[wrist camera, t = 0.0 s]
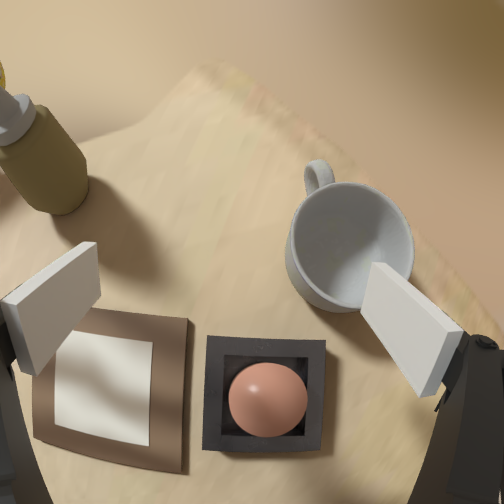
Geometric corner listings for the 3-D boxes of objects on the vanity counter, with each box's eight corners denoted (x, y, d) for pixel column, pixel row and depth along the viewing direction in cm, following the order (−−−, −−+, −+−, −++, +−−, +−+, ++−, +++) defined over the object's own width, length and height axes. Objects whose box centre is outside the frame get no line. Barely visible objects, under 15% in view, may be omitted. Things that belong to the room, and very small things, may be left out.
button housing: (311, 441, 25) (320, 449, 23) (204, 440, 25) (202, 449, 22) (315, 341, 29) (325, 339, 26) (208, 337, 28) (207, 335, 25)
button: (296, 428, 24) (305, 436, 21) (227, 427, 24) (227, 436, 21) (299, 362, 26) (309, 363, 23) (230, 360, 25) (231, 361, 23)
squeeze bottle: (34, 228, 29) (-62, 139, 12) (46, 168, 32) (-23, 68, 15) (93, 222, 30) (7, 110, 13) (102, 159, 33) (46, 39, 16)
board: (182, 470, 23) (181, 473, 23) (37, 436, 22) (33, 437, 21) (188, 319, 28) (187, 318, 27) (42, 300, 27) (38, 298, 26)
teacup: (384, 310, 30) (428, 295, 23) (283, 328, 29) (305, 318, 21) (355, 190, 34) (385, 150, 27) (263, 194, 33) (274, 149, 25)
